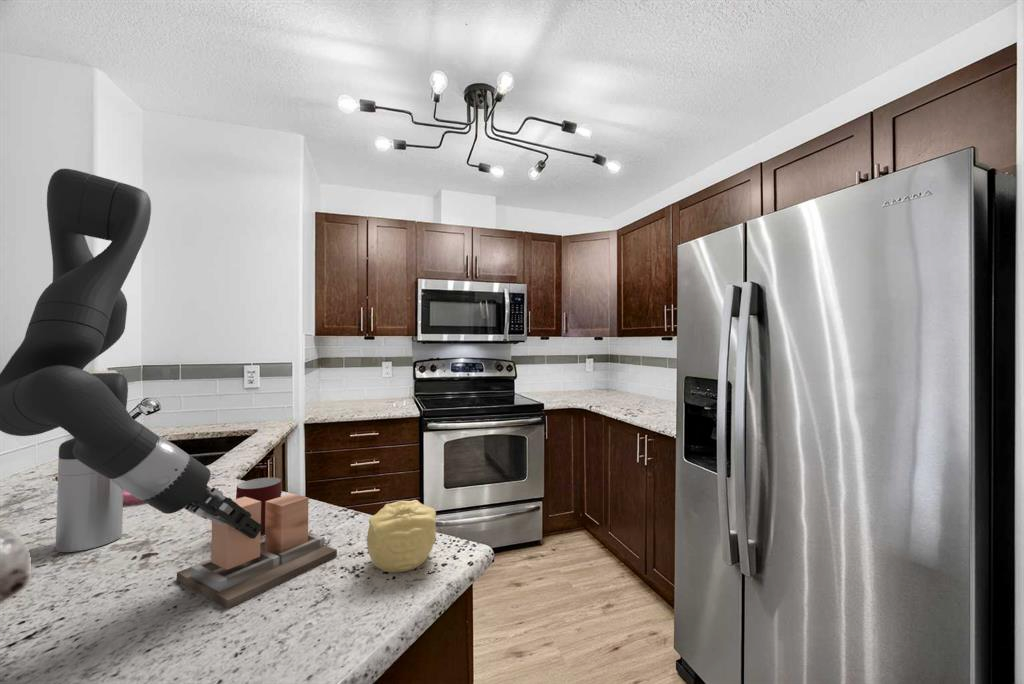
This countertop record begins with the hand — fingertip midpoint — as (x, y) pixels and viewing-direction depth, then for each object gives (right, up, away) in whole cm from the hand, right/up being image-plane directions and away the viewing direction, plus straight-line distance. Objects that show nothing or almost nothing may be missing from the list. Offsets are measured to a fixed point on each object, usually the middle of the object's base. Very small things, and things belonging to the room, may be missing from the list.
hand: (248, 529), depth 70 cm
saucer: (-51, -10, +39) cm, 65 cm away
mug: (-9, -8, +16) cm, 20 cm away
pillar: (-1, -4, -2) cm, 5 cm away
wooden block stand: (+1, -7, +2) cm, 8 cm away
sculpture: (+25, -7, +3) cm, 26 cm away
